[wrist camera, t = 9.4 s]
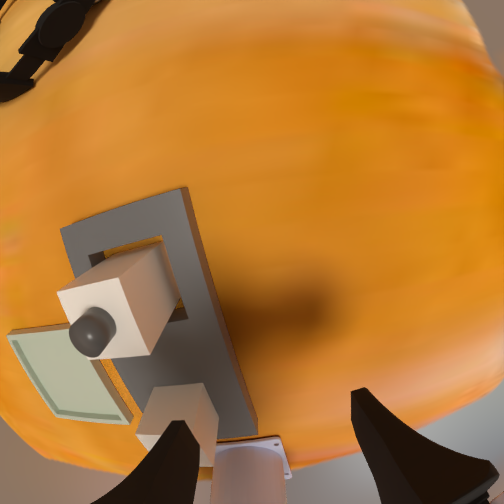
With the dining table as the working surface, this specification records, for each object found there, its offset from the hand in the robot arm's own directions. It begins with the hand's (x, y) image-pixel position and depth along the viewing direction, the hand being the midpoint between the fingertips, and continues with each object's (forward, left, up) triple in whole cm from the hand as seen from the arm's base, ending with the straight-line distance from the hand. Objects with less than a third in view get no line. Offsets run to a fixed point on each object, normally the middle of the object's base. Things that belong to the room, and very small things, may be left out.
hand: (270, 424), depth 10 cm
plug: (+5, +7, -9) cm, 13 cm away
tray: (-3, +20, -9) cm, 22 cm away
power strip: (0, +7, -9) cm, 12 cm away
